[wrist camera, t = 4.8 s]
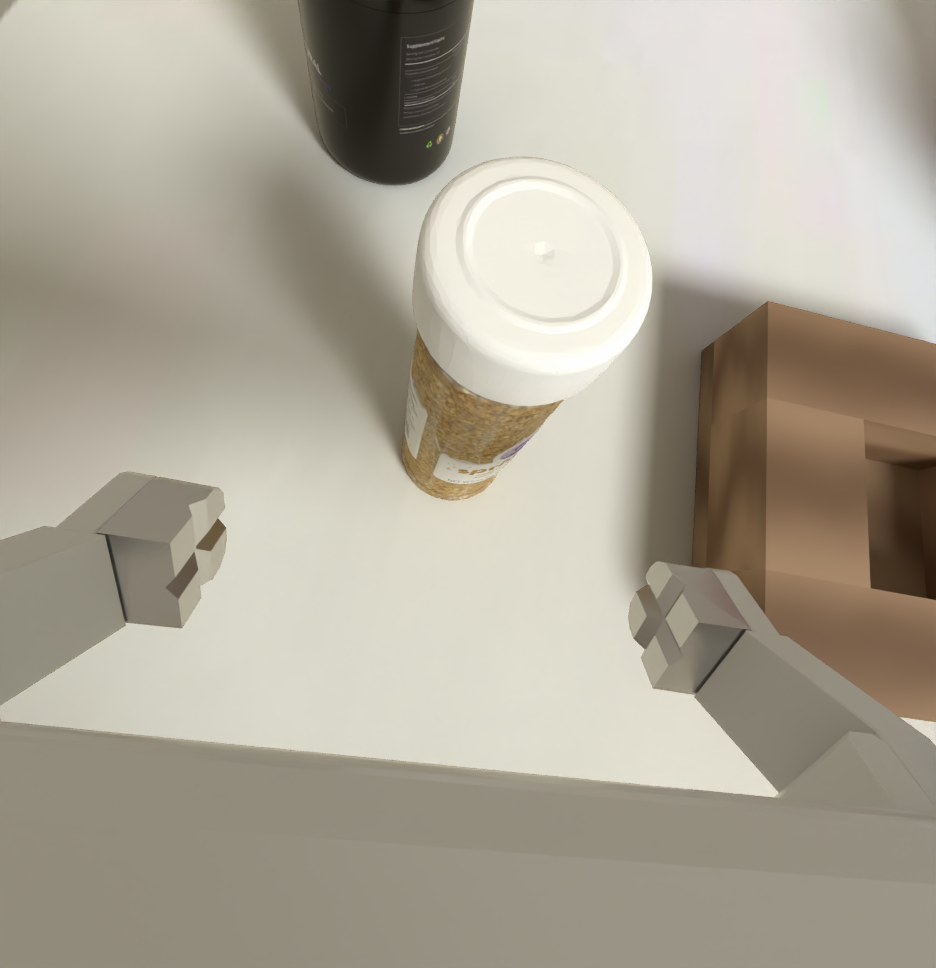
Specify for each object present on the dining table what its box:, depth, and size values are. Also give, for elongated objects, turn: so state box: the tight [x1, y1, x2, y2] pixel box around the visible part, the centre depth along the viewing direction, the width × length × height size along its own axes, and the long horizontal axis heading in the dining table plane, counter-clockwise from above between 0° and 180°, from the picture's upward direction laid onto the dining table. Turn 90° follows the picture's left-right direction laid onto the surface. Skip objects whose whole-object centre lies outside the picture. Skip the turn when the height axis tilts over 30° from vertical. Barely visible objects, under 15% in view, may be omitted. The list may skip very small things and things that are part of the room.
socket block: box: [692, 301, 936, 722], centre depth 22 cm, size 16×16×4 cm
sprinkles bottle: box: [402, 157, 652, 500], centre depth 15 cm, size 5×5×14 cm
